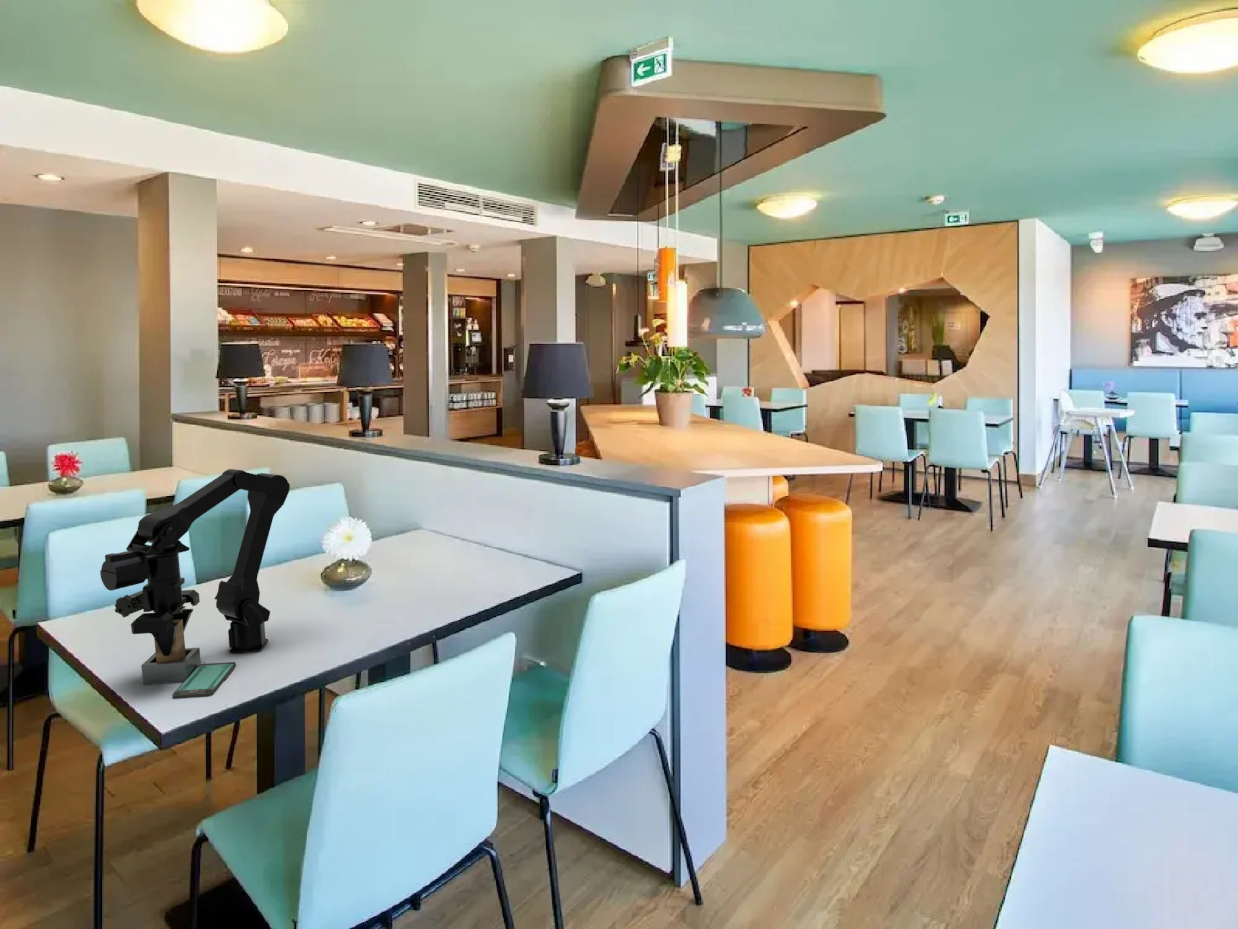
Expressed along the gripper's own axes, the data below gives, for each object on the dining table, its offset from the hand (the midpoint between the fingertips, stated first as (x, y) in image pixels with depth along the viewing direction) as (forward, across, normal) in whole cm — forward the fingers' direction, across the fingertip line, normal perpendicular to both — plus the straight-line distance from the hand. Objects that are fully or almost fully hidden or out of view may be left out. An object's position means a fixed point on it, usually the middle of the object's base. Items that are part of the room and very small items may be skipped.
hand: (171, 651), depth 157 cm
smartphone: (+6, +4, +8) cm, 10 cm away
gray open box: (+5, 0, 0) cm, 5 cm away
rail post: (+4, 0, 0) cm, 4 cm away
